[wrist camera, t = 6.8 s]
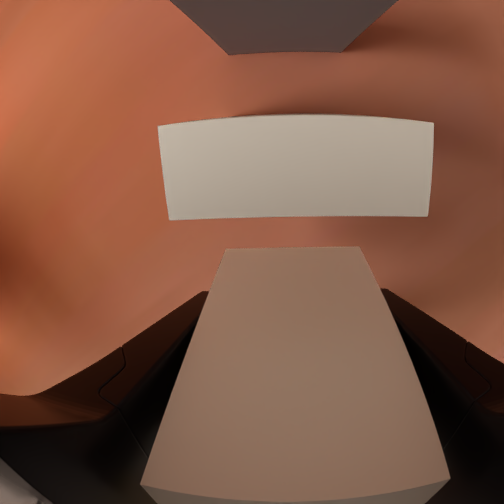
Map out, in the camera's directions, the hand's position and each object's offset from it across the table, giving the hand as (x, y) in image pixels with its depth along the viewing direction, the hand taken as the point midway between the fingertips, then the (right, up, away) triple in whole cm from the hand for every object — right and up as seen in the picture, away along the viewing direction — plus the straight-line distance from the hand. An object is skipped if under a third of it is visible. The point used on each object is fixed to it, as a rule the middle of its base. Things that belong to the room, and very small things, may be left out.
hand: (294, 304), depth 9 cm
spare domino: (0, +1, +2) cm, 2 cm away
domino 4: (0, +6, +3) cm, 7 cm away
